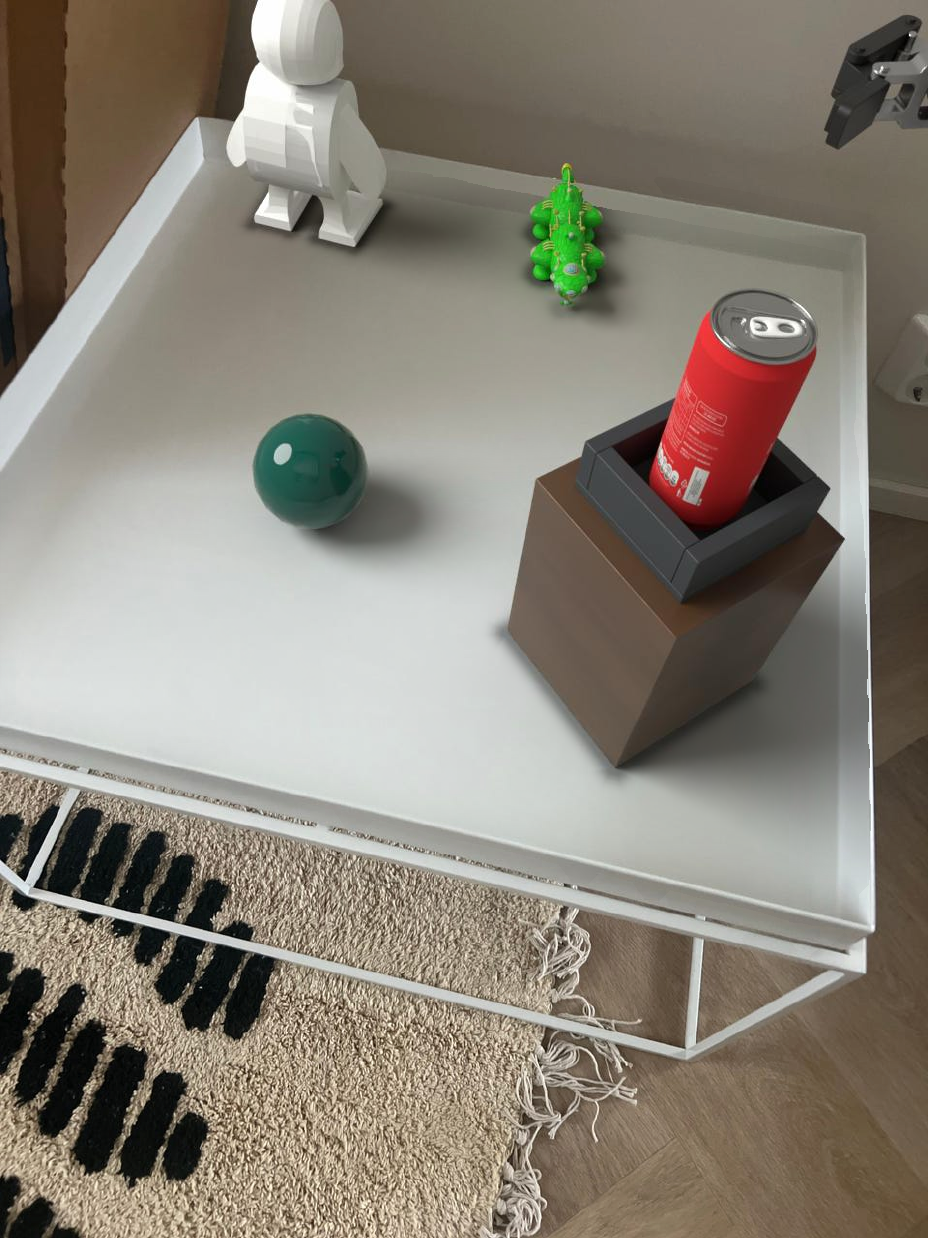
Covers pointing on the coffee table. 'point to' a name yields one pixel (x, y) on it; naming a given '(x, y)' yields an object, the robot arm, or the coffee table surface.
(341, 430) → the sphere
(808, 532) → the stand
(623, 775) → the coffee table surface
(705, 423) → the beverage can
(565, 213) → the crocodile figurine
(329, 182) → the toy robot
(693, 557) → the socket
